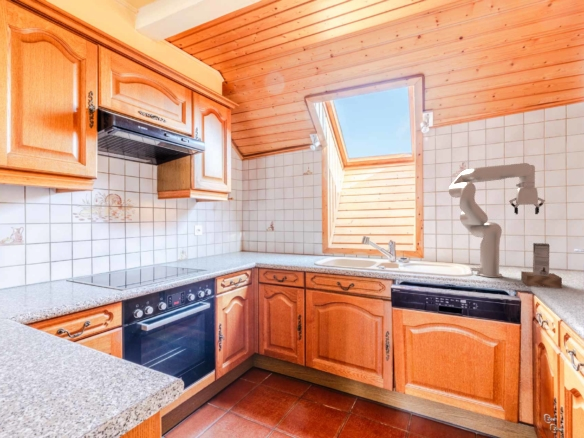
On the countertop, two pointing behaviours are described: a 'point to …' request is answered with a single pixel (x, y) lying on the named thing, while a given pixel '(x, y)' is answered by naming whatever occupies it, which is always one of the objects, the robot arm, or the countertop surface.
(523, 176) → the robot arm
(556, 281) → the block
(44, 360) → the countertop surface
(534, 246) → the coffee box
